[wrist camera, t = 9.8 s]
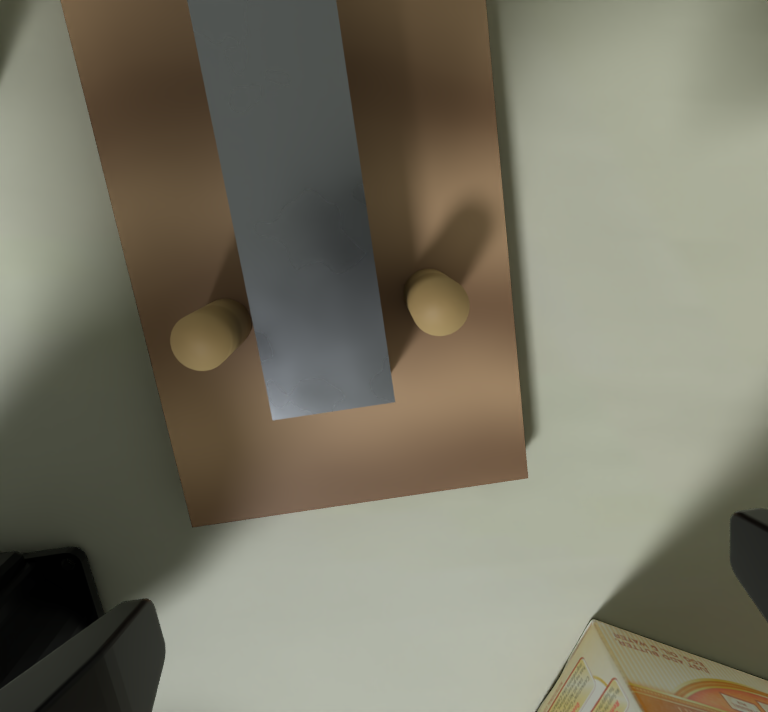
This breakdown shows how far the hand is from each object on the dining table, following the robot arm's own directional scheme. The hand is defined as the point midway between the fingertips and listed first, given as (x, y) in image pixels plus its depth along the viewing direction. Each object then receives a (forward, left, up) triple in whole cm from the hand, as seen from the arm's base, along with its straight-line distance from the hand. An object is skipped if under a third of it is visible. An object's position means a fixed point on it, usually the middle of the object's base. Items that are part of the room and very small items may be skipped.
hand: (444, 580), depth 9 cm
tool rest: (+9, +2, -12) cm, 15 cm away
